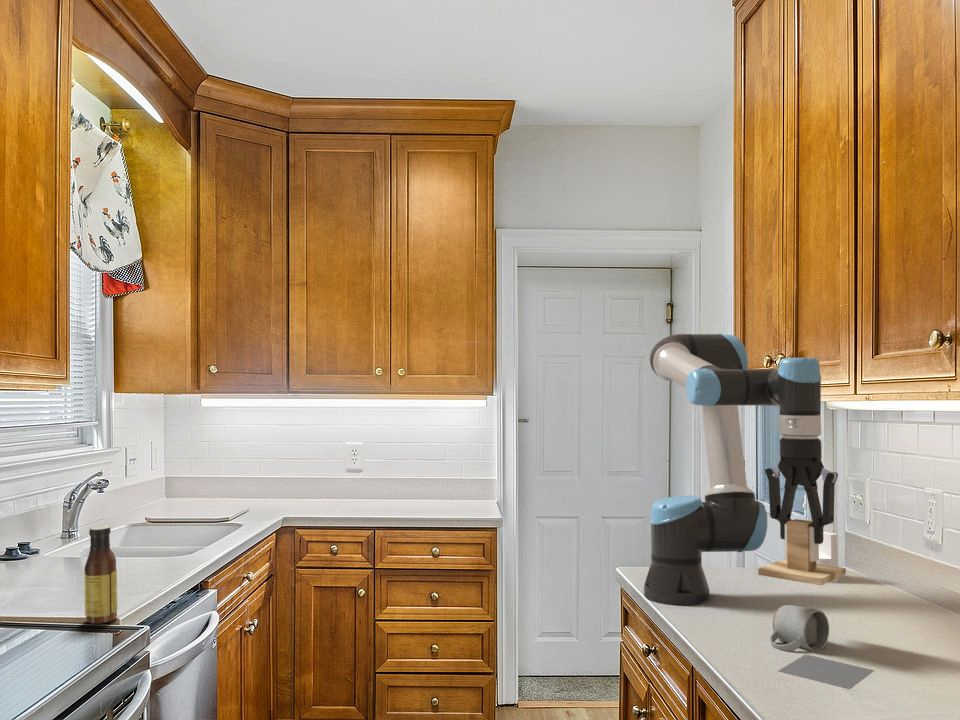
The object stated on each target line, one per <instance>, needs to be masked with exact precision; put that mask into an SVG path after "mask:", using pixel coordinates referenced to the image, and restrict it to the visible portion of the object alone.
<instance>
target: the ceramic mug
mask: <svg viewBox="0 0 960 720" xmlns="http://www.w3.org/2000/svg"><path fill="white" fill-rule="evenodd" d="M773 615H774V616H773V618H772V631H773V632H772V633H771V635H770V637H769V643H770V645H771V647H772V648H774V649H777V650H779V651H783V652H784V651H785V652H794V651H796V650H798V649H799V648H801V649H805V650H807V651H812V652H813V651H814V649H813V648H811V647H810V646H809V645H812V646H816V647H818V648H821V649H822V648H824V647H825V646H826V644H827V643H828V640H829V635H830V623H829V619H828V617H827V615H826V614H825V612H824V611H822V610H820V609H818V608H817V609H816V608H811V607H804V606H797V605H793V604H787V605H786V604H785V605H781V606H779V607H778V608H777V609H776V610H775V613H774V614H773ZM777 640H779V641H782V642H784V643H786V644H778V643H777V644H776V643H775V642H776V641H777Z"/></svg>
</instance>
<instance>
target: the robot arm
mask: <svg viewBox="0 0 960 720" xmlns="http://www.w3.org/2000/svg"><path fill="white" fill-rule="evenodd" d="M778 363H779V364H778V368H764V369H763V368H753V369H752V368H748V365H749V358H748V354H747V350H746V347H745V345H744V343H743V341H742V340H741V339H739V337H738V336H736V335H734V334H724V333H716V334H715V333H714V334H713V333H689V334H687V333H677V334H671V335H669V336H667V337H664V338H662V339H661V340H659V341H658V342H657V343H656V344H655V345H654V346H653V348H652V349H651V352H650V354H649V364H650V367H651V370H652V371H653V372H654V374H655V375H656V376H657V377H659V378H661V380H664V381H667V382H675V383H676V384H678V385H679V386H682V387H683V388H685V390H686V392H685V393H686V396H687V398H688V402H690V404H692V405H694V406H701V411H702V421H703V431H704V441H705V450H706V459H707V460H706V461H707V467H708V468H707V469H708V479H709V487H710V488H709V490H708V491H707V492H706V493H705V494H704V501H703V500H702V499H701V497H700V496H698V495H675V496H668V497H664V498H660V499H657V500H656V501H654V502H653V504H652V505H651V509H650V510H651V512H650V519H649V520H650V521H649V522H650V547H651V549H650V550H651V552H650V554H651V555H650V557H651V558H650V560H651V561H650V565H649V568H648V572H647V575H646V578H645V581H644V584H643V595H644V597H645V598H647V599H648V600H650V601H652V602H653V601H654V602H658V603H661V604H668V605H686V606H688V605H689V606H691V605H698V604H699V605H700V604H704V603H707V602H708V601H710V597H711V595H710V588H709V584H708V580H707V578H706V574H705V572H704V568H703V564H702V561H703V559H702V557H703V556H702V555H703V553H713V552H714V553H719V552H720V553H721V552H722V553H723V552H726V553H727V552H729V553H730V552H732V553H733V552H737V553H743V552H754V551H757V550H758V549H759V548H760V547H762V545H763V543H764V541H765V538H766V535H767V531H768V512H767V509H766V506H765V504H764V503H763V502H761V501H759V500H756V495H755V491H753V490H752V489H751V488H749V486H748V482H747V475H746V466H745V456H744V450H743V441H742V433H741V423H740V416H739V415H740V414H739V407H738V406H767V407H768V406H769V407H770V406H775V407H777V406H778V407H779V434H780V435H781V436H782V437H781V438H780V439H779V456H780V457H779V459H780V460H779V462H778V464H777V466H773V467H769V468H765V470H764V471H765V472H764V473H765V475H766V478H767V480H768V497H769V498H768V499H769V517H770V518H771V519H773V520H776V521H777V522H779V526H780V527H779V528H780V531H779V533H780V535H779V537H780V539H781V540H784V557H785V558H784V559H787V521H790V520H793V519H792V518H791V517H792V512H793V506H794V502H795V497H796V492H797V491H796V490H797V489H798V488H799V487H798V486H801V487H803V489H804V491H805V493H806V498H807V502H808V507H809V513H810V517H811V521H812V522H813V524H812V526H810V527H809V561H811V562H814V561H817V560H819V544H821V543H823V532H824V527H825V526H827V525H831V524H833V523H835V522H834V521H835V490H836V489H835V488H836V487H835V484H836V482H837V480H838V477H839V474H838V473H837V472H836V471H831V470H828V469H826V468H825V467H824V464H823V462H822V455H823V454H822V440H821V439H820V438H819V437H821V436H822V415H821V413H822V412H821V410H822V409H821V408H822V407H821V406H822V405H821V404H822V401H821V399H822V397H821V396H822V395H821V393H822V392H821V391H822V389H821V388H822V386H821V385H822V375H821V366H820V361H819V360H818V359H817V358H815V357H783V358H782V359H780V360H779V362H778ZM781 475H782V476H783V477H784V479H785V483H784V486H783V487H784V493H783V498H781V483H780V482H781V481H780V476H781ZM820 476H822V481H823V487H822V488H823V489H822V505H821V503H820V502H821V501H820V497H819V492H818V483H817V480H818V479H820ZM781 499H782V502H781Z"/></svg>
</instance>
